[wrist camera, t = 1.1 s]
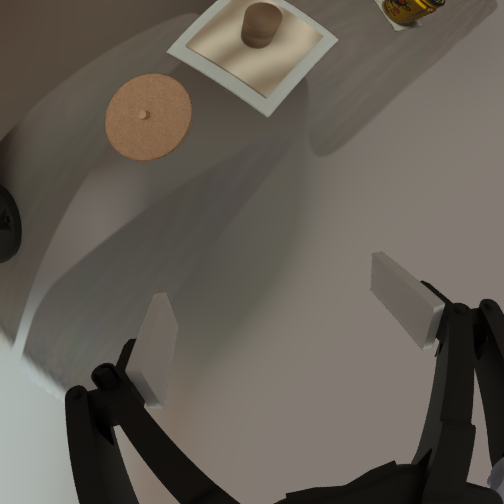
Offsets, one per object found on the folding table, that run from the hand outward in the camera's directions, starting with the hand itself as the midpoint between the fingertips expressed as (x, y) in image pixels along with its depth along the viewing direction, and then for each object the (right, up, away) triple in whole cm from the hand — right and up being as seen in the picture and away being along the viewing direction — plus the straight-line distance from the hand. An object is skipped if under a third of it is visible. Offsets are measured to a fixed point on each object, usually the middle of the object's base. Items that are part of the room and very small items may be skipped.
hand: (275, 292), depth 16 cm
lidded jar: (-14, +21, +17) cm, 30 cm away
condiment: (+25, +46, +11) cm, 53 cm away
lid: (-1, +32, +13) cm, 35 cm away
